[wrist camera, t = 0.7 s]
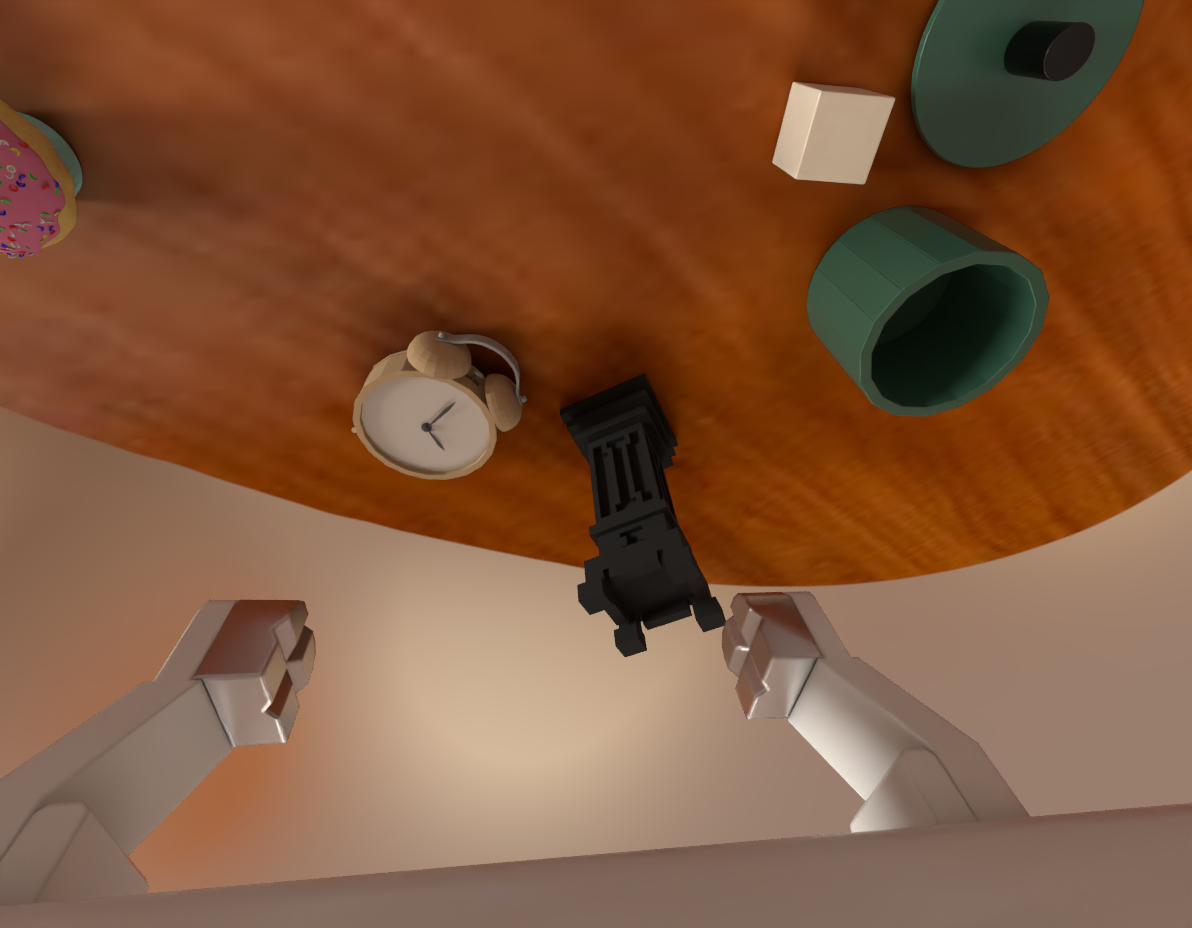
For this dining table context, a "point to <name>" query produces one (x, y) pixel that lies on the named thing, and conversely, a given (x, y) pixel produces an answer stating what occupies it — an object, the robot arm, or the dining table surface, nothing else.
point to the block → (831, 132)
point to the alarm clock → (436, 407)
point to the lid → (1012, 72)
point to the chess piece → (635, 518)
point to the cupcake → (34, 184)
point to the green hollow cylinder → (924, 309)
